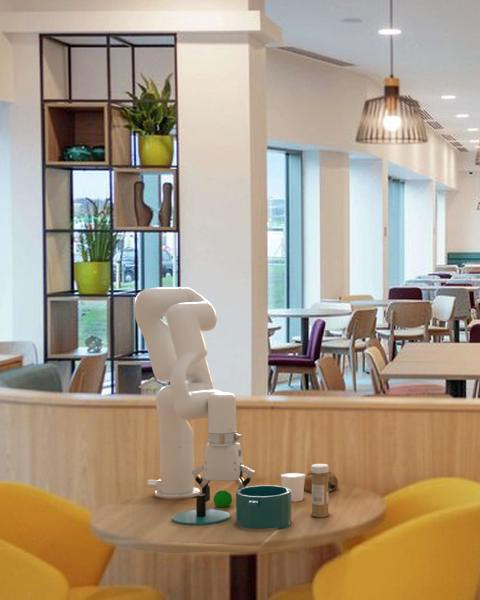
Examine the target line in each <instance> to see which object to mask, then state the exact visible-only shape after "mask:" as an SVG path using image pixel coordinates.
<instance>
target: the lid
mask: <svg viewBox="0 0 480 600" xmlns="http://www.w3.org/2000/svg"><path fill="white" fill-rule="evenodd" d="M195 498H196V499H195V507H196V508H195V509H191V510H184V511H181V512H177V513H175V514H174V515H172V517H171V520H172V522H173V523H175V524H178V525H183V526H184V525H185V526H209V525H216V524H221V523H223V522H226V521H228V520H229V519H230V518H231V514H230V512H228V511H225V510H221V509H210V508H207V502H206V494H202V493H200V494H197V495H196V496H195Z"/></svg>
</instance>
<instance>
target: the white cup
mask: <svg viewBox="0 0 480 600" xmlns="http://www.w3.org/2000/svg"><path fill="white" fill-rule="evenodd" d="M305 475H306V473H302V472H286V473H281V474H280V483H281V486H283V487H286V488H289V489H290V490H291V503H292V502H296V503H297V502H301V501H304V493H305V491H304V490H305V489H304V482H305Z"/></svg>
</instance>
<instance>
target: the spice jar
mask: <svg viewBox="0 0 480 600" xmlns="http://www.w3.org/2000/svg"><path fill="white" fill-rule="evenodd" d="M329 470H330V468H329V464H327V463H313V464H312V465H311V466H310V471H311V472H312V492H311V516H312V517H313V518H326V517H328V516H329V514H330V513H329V492H328V472H329Z"/></svg>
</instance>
